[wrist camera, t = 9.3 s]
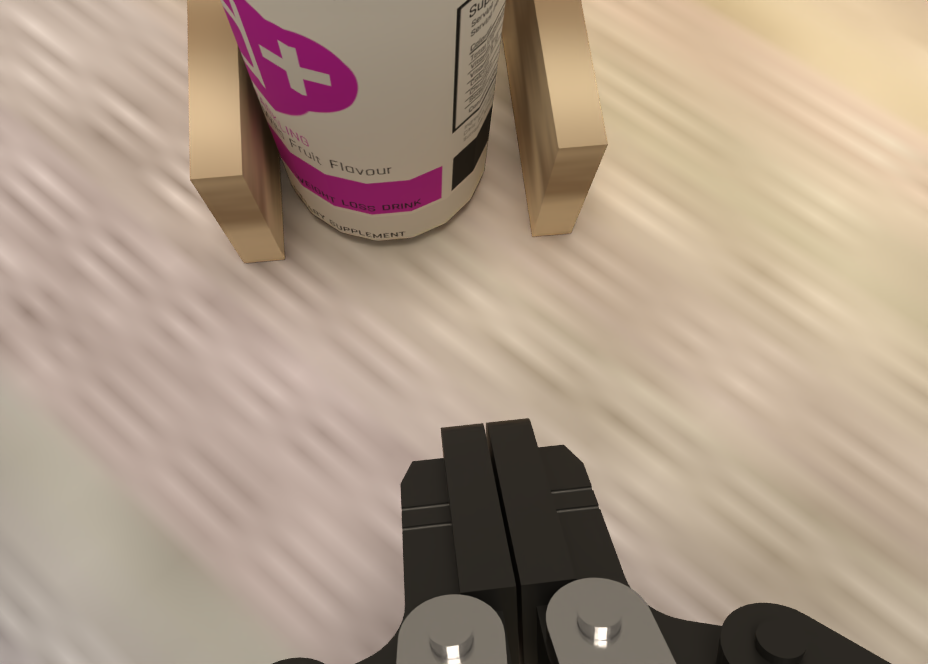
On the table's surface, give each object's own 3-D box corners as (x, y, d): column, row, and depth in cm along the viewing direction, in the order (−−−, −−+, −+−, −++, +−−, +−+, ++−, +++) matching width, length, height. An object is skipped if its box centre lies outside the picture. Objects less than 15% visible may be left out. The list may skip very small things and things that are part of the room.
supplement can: (362, 285, 30) (297, 39, 16) (251, 135, 32) (101, -209, 18) (524, 178, 32) (596, -133, 18) (409, 40, 34) (389, -346, 19)
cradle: (570, 233, 31) (607, 144, 25) (244, 263, 30) (189, 179, 24) (531, -3, 34) (554, -139, 28) (235, 18, 34) (185, -117, 27)
